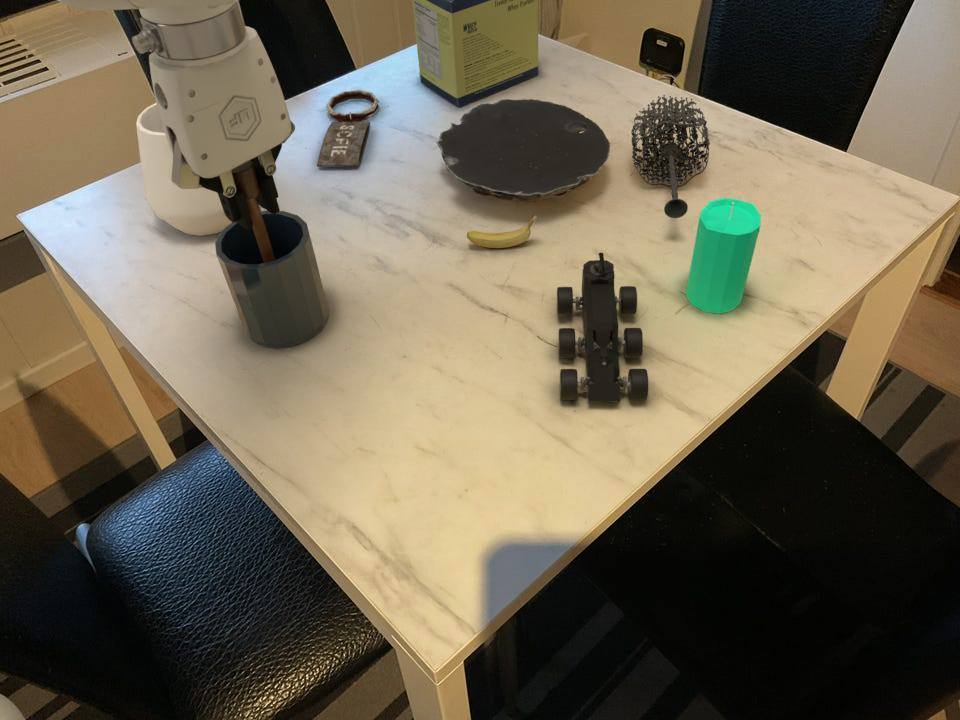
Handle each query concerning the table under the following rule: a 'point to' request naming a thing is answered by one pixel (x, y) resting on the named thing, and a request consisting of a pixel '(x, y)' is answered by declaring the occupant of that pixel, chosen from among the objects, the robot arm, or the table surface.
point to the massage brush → (670, 147)
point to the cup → (165, 199)
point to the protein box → (475, 46)
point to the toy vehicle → (600, 337)
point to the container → (274, 281)
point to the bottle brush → (253, 206)
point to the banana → (501, 237)
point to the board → (524, 149)
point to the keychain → (346, 131)
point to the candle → (722, 254)
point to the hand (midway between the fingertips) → (254, 213)
